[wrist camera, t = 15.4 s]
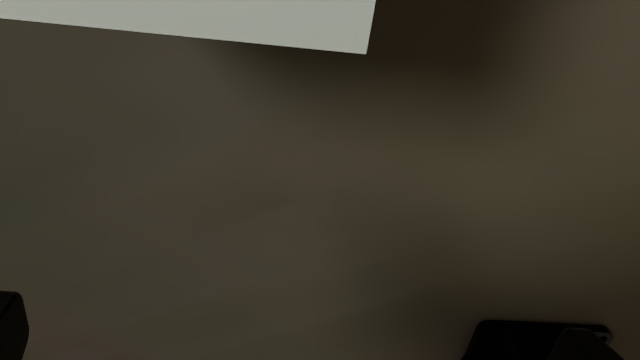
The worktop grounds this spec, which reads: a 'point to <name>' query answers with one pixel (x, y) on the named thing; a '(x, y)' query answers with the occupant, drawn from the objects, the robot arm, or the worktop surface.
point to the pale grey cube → (216, 19)
